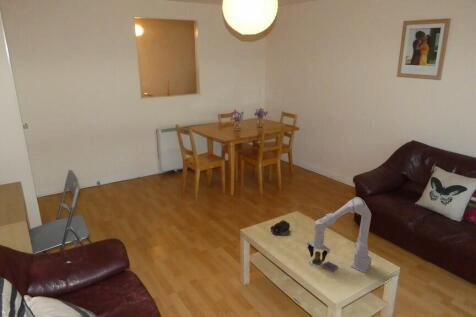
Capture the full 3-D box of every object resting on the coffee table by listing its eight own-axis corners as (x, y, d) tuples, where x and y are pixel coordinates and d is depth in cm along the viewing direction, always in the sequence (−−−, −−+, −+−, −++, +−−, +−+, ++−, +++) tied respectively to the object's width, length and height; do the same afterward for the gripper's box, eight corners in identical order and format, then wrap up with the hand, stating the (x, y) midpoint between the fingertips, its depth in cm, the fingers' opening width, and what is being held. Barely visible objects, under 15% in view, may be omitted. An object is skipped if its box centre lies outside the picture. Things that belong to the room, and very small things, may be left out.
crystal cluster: (267, 230, 249) (267, 218, 245) (283, 224, 254) (283, 213, 250) (277, 240, 238) (276, 228, 234) (293, 234, 243) (293, 222, 239)
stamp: (322, 262, 210) (322, 252, 208) (319, 265, 207) (319, 255, 205) (315, 259, 213) (316, 249, 211) (312, 263, 209) (312, 253, 207)
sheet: (327, 262, 210) (327, 262, 210) (319, 269, 204) (319, 268, 204) (315, 256, 216) (315, 256, 216) (306, 262, 210) (306, 262, 210)
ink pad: (338, 267, 205) (338, 265, 205) (332, 272, 201) (333, 270, 201) (328, 262, 210) (328, 260, 210) (322, 266, 206) (322, 265, 206)
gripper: (333, 240, 203) (331, 259, 207) (311, 232, 212) (309, 251, 216) (328, 245, 198) (326, 265, 202) (305, 237, 207) (304, 256, 211)
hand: (317, 258), depth 209 cm, fingers open, 7 cm apart
